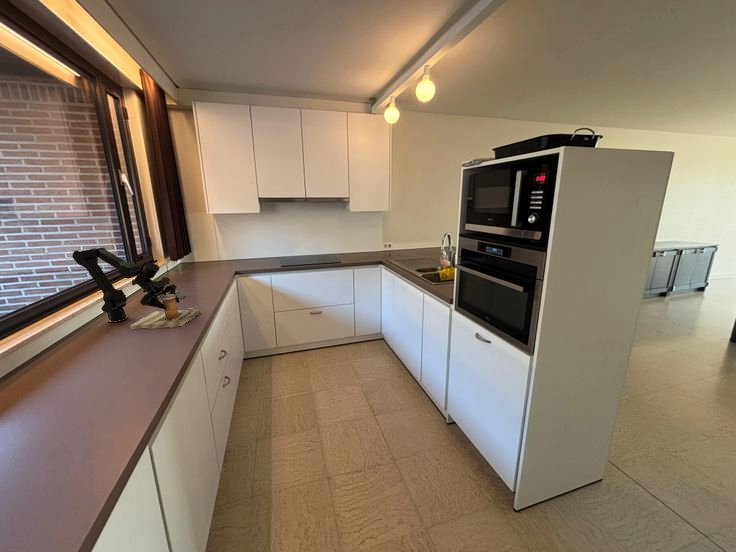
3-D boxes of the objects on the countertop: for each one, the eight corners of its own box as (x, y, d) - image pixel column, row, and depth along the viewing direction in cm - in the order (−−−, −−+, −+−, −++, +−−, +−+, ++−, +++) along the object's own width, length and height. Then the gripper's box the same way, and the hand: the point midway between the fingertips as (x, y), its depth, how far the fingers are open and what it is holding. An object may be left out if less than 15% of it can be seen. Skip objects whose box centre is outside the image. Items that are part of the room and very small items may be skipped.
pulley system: (179, 293, 204) (152, 298, 194) (178, 287, 202) (151, 291, 193) (190, 304, 184) (160, 309, 174) (189, 297, 183) (159, 302, 173)
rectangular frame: (130, 329, 146) (129, 325, 145) (155, 315, 163) (154, 311, 163) (181, 326, 146) (180, 323, 146) (200, 313, 164) (199, 309, 163)
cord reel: (163, 322, 153) (157, 297, 150) (175, 317, 159) (170, 293, 155) (171, 323, 151) (165, 298, 147) (183, 318, 156) (178, 294, 153)
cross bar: (172, 322, 146) (171, 319, 146) (190, 310, 162) (189, 307, 162) (176, 322, 147) (175, 319, 146) (193, 310, 162) (193, 307, 162)
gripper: (140, 278, 140) (167, 301, 141) (169, 269, 158) (193, 289, 159) (128, 294, 143) (155, 316, 144) (158, 283, 161) (182, 303, 162)
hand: (172, 305), depth 152 cm, fingers open, 9 cm apart
